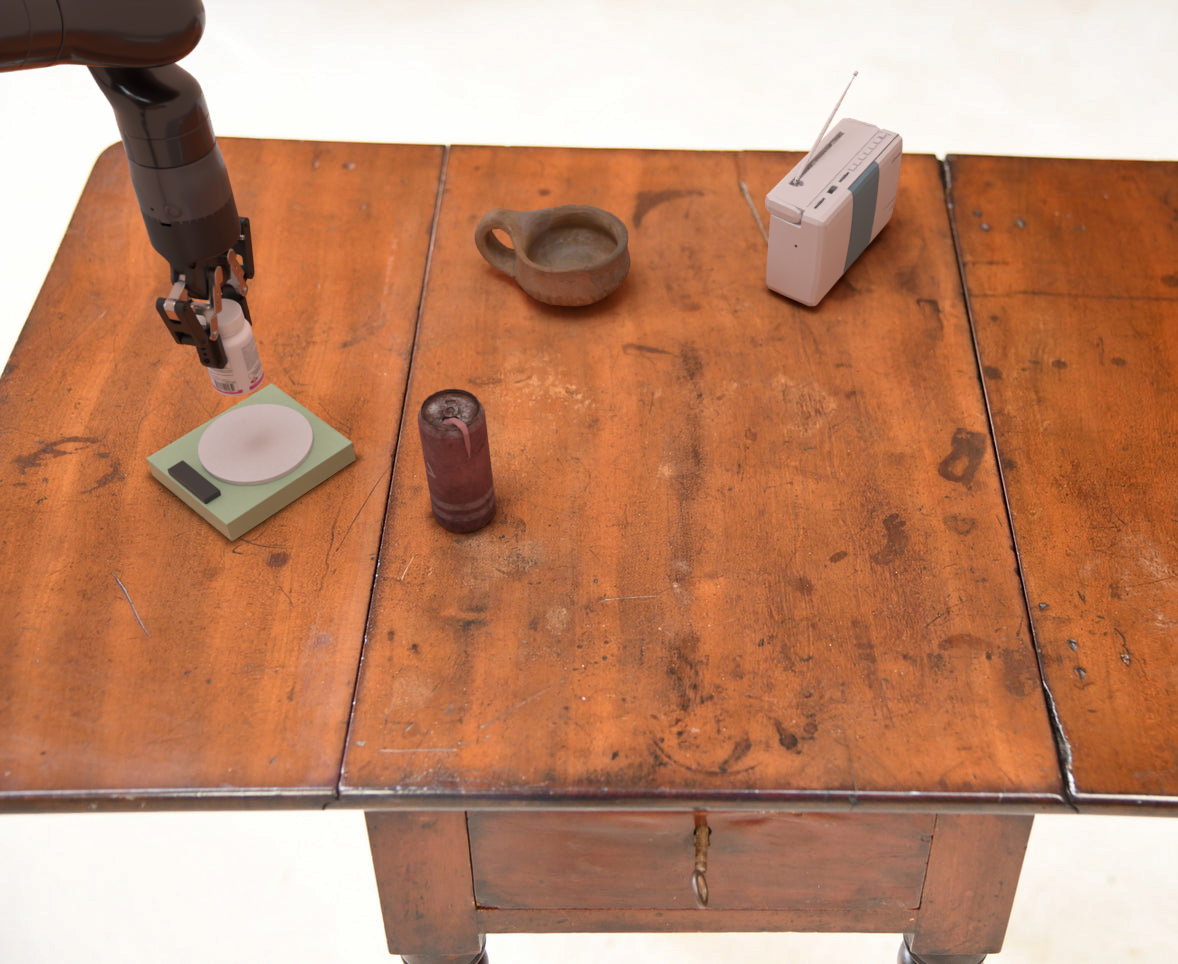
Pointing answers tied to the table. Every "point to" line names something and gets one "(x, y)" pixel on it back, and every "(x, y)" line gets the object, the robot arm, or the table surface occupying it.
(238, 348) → the pill bottle
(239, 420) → the scale
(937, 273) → the table surface
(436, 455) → the can
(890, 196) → the radio
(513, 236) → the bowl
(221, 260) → the robot arm
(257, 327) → the table surface
